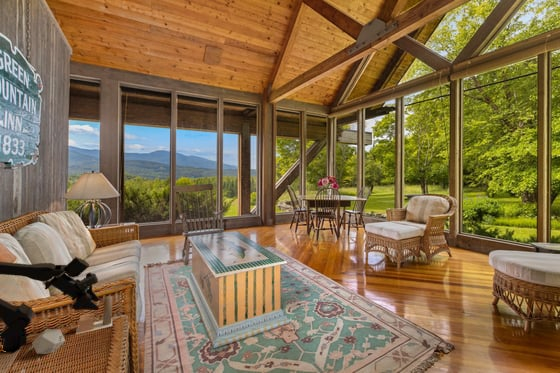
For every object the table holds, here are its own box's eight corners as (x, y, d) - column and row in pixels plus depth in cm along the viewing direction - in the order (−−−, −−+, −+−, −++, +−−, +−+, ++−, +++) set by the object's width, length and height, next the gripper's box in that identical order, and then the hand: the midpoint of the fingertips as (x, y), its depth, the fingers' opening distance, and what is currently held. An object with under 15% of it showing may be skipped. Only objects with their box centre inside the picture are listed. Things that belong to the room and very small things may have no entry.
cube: (78, 332, 106) (79, 320, 106) (79, 326, 110) (80, 315, 110) (93, 329, 109) (93, 317, 109) (93, 323, 113) (94, 312, 113)
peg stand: (75, 336, 105) (77, 306, 105) (76, 328, 110) (78, 299, 110) (112, 327, 112) (113, 299, 112) (111, 320, 118) (113, 293, 118)
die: (35, 365, 89) (58, 339, 92) (19, 349, 90) (43, 324, 94) (54, 358, 97) (75, 334, 100) (39, 343, 98) (61, 320, 101)
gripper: (83, 277, 101) (114, 297, 108) (86, 263, 116) (113, 282, 123) (57, 300, 96) (91, 320, 103) (63, 283, 112) (92, 301, 118)
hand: (98, 304), depth 112 cm, fingers open, 9 cm apart
